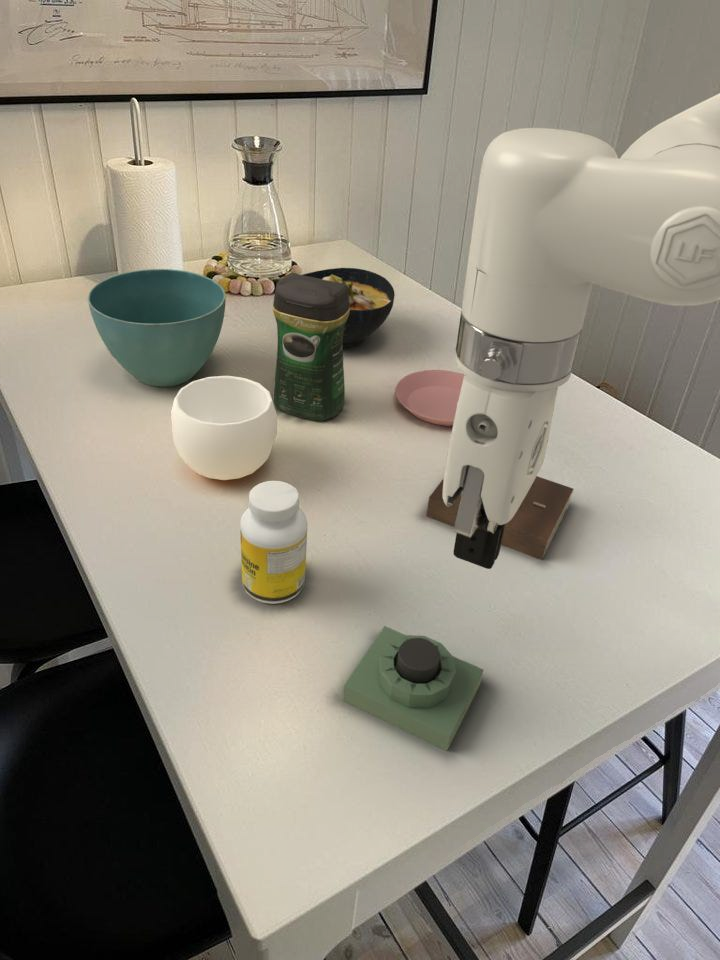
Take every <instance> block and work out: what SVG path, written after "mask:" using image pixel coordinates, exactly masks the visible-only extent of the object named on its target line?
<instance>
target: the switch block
mask: <svg viewBox="0 0 720 960" xmlns="http://www.w3.org/2000/svg"><path fill="white" fill-rule="evenodd" d="M412 638H423V639H426V640H428V641H430V642H432V643H433V644H434V645H435V646H436V647H437V648H438V650H439V652H440V662H439V667H438V671H437V674H436V676H435V677H434V678H433V679H432V680H431V681H429V682H426V683H413V682H410V681H408V680H406V679H404V678H403V677H402V676H401V675H400V674H399V672H398V670H397V658H398V651H399V648H400V646H401V644H402V643H403V642H405V641H406V640H408V639H412ZM483 675H484V669H483V668H481V667H478V666H477V665H474V664H472V663H470V662H467V661H465V660H463V659H461V658H459V657H457V656H453V654H452V653H451V652H449V650H448V649H447V648H446V647H445V646H444V645H443V643H441V642H439V641H437V640H435V639H432V638H430V637H428V636H425V635H414V634H413V635H408V634H407V635H406V634H404V633H402V632H399V631H397V630H395V629H392V628H390V627H388V626H386V625H384V626H383V627H382V629H381V630H380V632H379V633H378V635H377V636H376V638H375V639H374V640H373V642H372V643H371V645H370V646H369V648H368V650H367V651H366V652H365V654H364V655H363V656H362V658H361V659H360V661H359V662H358V664H357V666H356V667H355V668H354V670H353V671H352V673H351V674H350V676H349V677H348V679H347V680H346V682H345V683H344V685H343V692H342V693H343V694H342V701H343V702H345V703H347V704H349V705H351V706H354V707H355V708H357V709H360V710H361V711H364V712H365V713H368V714H370V715H372V716H373V717H376V718H378V719H380V720H382V721H384V722H386V723H388V724H391V725H392V726H395V727H396V728H399V730H400V729H401V730H402V731H405V732H406V733H409V734H411V735H413V736H415V737H416V738H419V739H421V740H423V741H425V742H427V743H428V744H430V745H433V746H435V747H438V748H439V749H440V750H441V749H442V750H443V751H446V752H447V751H448V750H449V748H450V746H451V744H452V742H453V740H454V738H455V736H456V735H457V732H458V730H459V728H460V726H461V724H462V723H463V720H464V718H465V716H466V713H467V712H468V710H469V708H470V706H471V704H472V702H473V700H474V698H475V696H476V694H477V692H478V690H479V688H480V686H481V682H482V679H483Z"/></svg>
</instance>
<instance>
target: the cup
mask: <svg viewBox="0 0 720 960" xmlns="http://www.w3.org/2000/svg"><path fill="white" fill-rule="evenodd" d="M170 420H171V421H170V422H171V431H172V438H173V439H172V440H173V444H174V446H175V448H176V450H177V452H178V454H179V458H180V459H181V460H182V461H183V462H184V463H185V464H186V465H187V466H188V467H189V468H190V469H191V470H192V471H194V472H195V473H196V474H198V475H200V476H202V477H205V478H207V479H212V480H213V479H214V480H220V481H230V480H236V479H242V478H244V477H247V476H249V475H252V474H254V473H255V472H256V471H257V470H259V468H261V467H262V466H263V465H264V464H265V463H266V462H267V461H268V459H269V457H270V454H271V453H272V449H273V446H274V443H275V441H276V438H277V435H278V413H277V411H276V406H275V405H274V402H273V398H272V395H271V392H270V390H268V389H267V388H265V387H264V386H263V385H262V384H261V383H259V382H257V381H254V380H251V379H249V378H246V377H241V376H232V375H219V376H216V375H214V376H207V377H204V378H200V379H197V380H193V381H191V382H189V383H188V384H186V385H184V386H183V387H181V388H180V389H179V390H178V392H177V394H176V395H175V397H174V398H173V402H172V406H171V411H170Z"/></svg>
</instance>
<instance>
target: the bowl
mask: <svg viewBox="0 0 720 960" xmlns="http://www.w3.org/2000/svg"><path fill="white" fill-rule="evenodd" d="M302 275H303V276H308V277H313V278H318V279H323V280H327V281H332V282H338V283H345V284H346V285H347V287H348V292H349V303H350V312H349V316H348V319H347V321H346V323H345V325H344V330H343V350H351V349H354V348H357V347H359V346H361V345H362V344H363V343H364V341H365V340H366V338H367V337H369V336H370V335H371V334H373V333H374V332H376V330H378V329H379V328H380V327H381V326H382V325H383V324H384V323H385V321H386V320H387V318H388V317H389V316H390V313H391V312H392V309H393V307H394V300H395V296H396V295H395V289H394V287H393V285H392V284H391V282H389V280H387V279H386V278H385V277H384V276H382V275H380V274H378V273H377V272H373V271H370V270H367V269H362V268H355V267H336V268H335V267H334V268H326V269H321V270H315V271H312V272H311V271H310V272H307V273H303V274H302Z"/></svg>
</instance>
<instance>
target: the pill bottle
mask: <svg viewBox="0 0 720 960" xmlns="http://www.w3.org/2000/svg"><path fill="white" fill-rule="evenodd" d="M239 527H240V528H239V530H240V531H239V532H240V534H239V535H240V556H241V557H240V558H241V559H240V560H241V561H240V562H241V564H240V565H241V583H242V587H243V589H244V591H245V592H246V594H248V596H249V597H251V598H252V599H254V600H255V601H258V602H260V603H262V604H263V603H264V604H270V605H273V604H276V605H277V604H282V603H285V602H288V601H291V600H293V599H294V598H296V597H297V596H298V595H299V594H300V593H301V591H302V590H303V588H304V586H305V583H306V570H307V569H306V567H307V563H306V562H307V545H308V519H307V516H306V514H305V512H304V511H303V509H301V507H300V494H299V491H298V489H296V487H295V486H294V485H292V484H290V483H288V482H284V481H280V480H267V481H263V482H260V483H258V484H256V485H255V486H253V487H252V489H251V490H250V492H249V493H248V508H247V509H245V511H244V512H243V514H242V516H241V518H240V524H239Z"/></svg>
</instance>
